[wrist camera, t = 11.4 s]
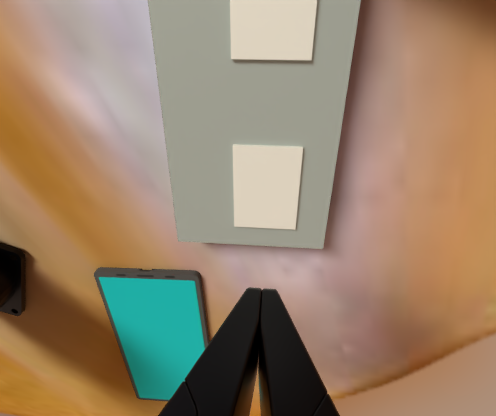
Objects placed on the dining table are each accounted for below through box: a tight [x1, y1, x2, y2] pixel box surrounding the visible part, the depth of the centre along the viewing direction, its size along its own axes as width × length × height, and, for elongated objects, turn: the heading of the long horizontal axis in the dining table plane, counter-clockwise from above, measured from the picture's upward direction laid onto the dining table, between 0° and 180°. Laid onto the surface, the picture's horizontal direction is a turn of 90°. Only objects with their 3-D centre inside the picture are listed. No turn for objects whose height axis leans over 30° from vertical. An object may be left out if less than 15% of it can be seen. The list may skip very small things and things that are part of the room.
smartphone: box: [94, 267, 209, 401], centre depth 25 cm, size 7×1×15 cm
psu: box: [148, 0, 361, 249], centre depth 14 cm, size 15×8×2 cm, turn 0°
